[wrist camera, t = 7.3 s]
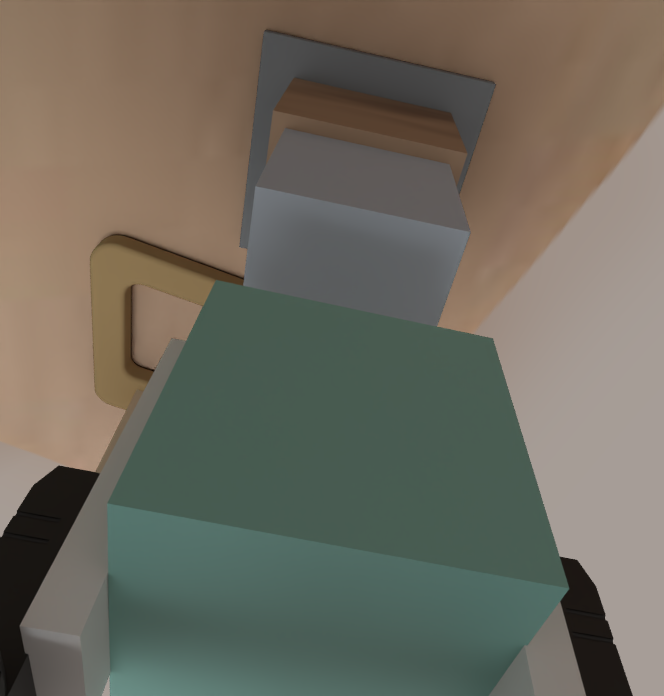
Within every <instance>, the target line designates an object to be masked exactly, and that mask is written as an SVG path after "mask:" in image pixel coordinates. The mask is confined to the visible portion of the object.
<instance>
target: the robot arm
mask: <svg viewBox="0 0 664 696" xmlns="http://www.w3.org/2000/svg"><path fill="white" fill-rule="evenodd" d="M185 343H186V341H184V340H178V339H173V338H172V339H171V341H170V342H169V344H168V346H167V348H166V350H165V352H164V354H163V356H162V358H161V359H160V361H159V363H158V365H157V367H156V369H155V371H154V373H153V375H152V376H151V378H150V380H149V382H148V384H147V386H146V388H145V390H144V392H143V393H142V395H141V397H140V399H139V401H138V403H137V405H136V407H135V409H134V411H133V412H132V414H131V416H130V418H129V420H128V422H127V424H126V426H125V428H124V429H123V431H122V433H121V435H120V437H119V439H118V441H117V443H116V445H115V446H114V448H113V450H112V452H111V454H110V456H109V458H108V460H107V462H106V463H105V465H104V467H103V469H102V471H101V473H96V472H91V471H86V470H80V469H75V468H69V467H64V466H58V467H56V468H55V469H54V470H53V471H51V472H50V473H49V474H47V475H46V476H45V477H44V478H42V479H41V480H39V481H38V482H37V483H36V484H34V485H33V487H32V488H31V490H30V491H29V493H28V494H27V496H26V497H25V499H24V501H23V502H22V504H21V505H20V507H19V508H18V510H17V514H16V515H15V516H13V518H12V519H11V521H10V522H9V524H8V526H7V527H6V529H5V530H4V533H3V536H2V537H0V696H102V693H103V691H104V688H105V685H106V683H107V680H108V677H109V675H110V647H109V596H108V525H107V503H108V501H109V499H110V497H111V495H112V492H113V490H114V488H115V486H116V484H117V482H118V480H119V478H120V476H121V474H122V472H123V470H124V468H125V466H126V464H127V462H128V460H129V458H130V456H131V453H132V451H133V449H134V447H135V445H136V443H137V441H138V439H139V437H140V435H141V433H142V431H143V429H144V427H145V425H146V423H147V421H148V419H149V416H150V414H151V412H152V410H153V408H154V406H155V404H156V402H157V400H158V398H159V396H160V394H161V392H162V390H163V388H164V386H165V384H166V382H167V380H168V377H169V375H170V373H171V371H172V369H173V367H174V365H175V363H176V361H177V359H178V357H179V355H180V353H181V351H182V349H183V347H184V345H185ZM560 560H561V563H562V566H563V569H564V573H565V576H566V579H567V583H568V586H569V590H568V591H567V593H566V594H565V595H564V597H563V598H562V599H561V601H560V602H559V603H558V605H557V606H556V607H555V609H554V610H553V612H552V613H551V614H550V616H549V617H548V618H547V620H546V621H545V622H544V624H543V625H542V626H541V628H540V629H539V631H538V632H537V633H536V635H535V636H534V637H533V639H532V640H531V641H530V643H529V644H528V645H524V647H523V648H522V649H521V651H520V652H519V654H518V655H517V656H516V658H515V659H514V661H513V662H512V663H511V665H510V666H509V668H508V669H507V670H506V672H505V673H504V675H503V676H502V677H501V679H500V680H499V682H498V683H497V685H496V686H495V687H494V689H493V690H492V692H491V693H490V694H489V696H633V695H632V692H631V689H630V686H629V684H628V681H627V677H626V675H625V672H624V669H623V666H622V663H621V660H620V657H619V654H618V651H617V648H616V645H615V644H613V636H612V633H611V630H610V627H609V624H608V621H606V620H605V612H604V609H603V606H602V603H601V600H600V597H599V594H598V591H597V588H596V586H595V584H594V583H593V582H592V580H591V579H590V577H589V576H588V575H587V573H586V572H585V570H584V569H583V568H582V566H581V565H580V563H579V562H578V561H577V560H575V559H569V558H564V557H560Z"/></svg>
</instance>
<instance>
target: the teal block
mask: <svg viewBox="0 0 664 696" xmlns="http://www.w3.org/2000/svg"><path fill="white" fill-rule="evenodd" d="M107 525H108V596H109V647H110V696H489V694H490V693H491V692H492V690H493V689H494V687H495V686H496V685H497V683H498V682H499V680H500V679H501V677H502V676H503V675H504V673H505V672H506V670H507V669H508V668H509V666H510V665H511V663H512V662H513V661H514V659H515V658H516V656H517V655H518V654H519V652H520V651H521V649H522V648H523V647H524V645H528V644H529V643H530V641H531V640H532V639H533V637H534V636H535V635H536V633H537V632H538V631H539V629H540V628H541V626H542V625H543V624H544V622H545V621H546V620H547V618H548V617H549V616H550V614H551V613H552V612H553V610H554V609H555V607H556V606H557V605H558V603H559V602H560V601H561V599H562V598H563V597H564V595H565V594H566V593H567V591H568V590H569V586H568V583H567V579H566V576H565V573H564V569H563V566H562V563H561V560H560V556H559V553H558V550H557V547H556V544H555V540H554V537H553V534H552V530H551V527H550V524H549V521H548V518H547V514H546V511H545V507H544V504H543V501H542V498H541V494H540V491H539V488H538V485H537V481H536V478H535V475H534V472H533V468H532V465H531V462H530V459H529V455H528V452H527V449H526V445H525V442H524V439H523V436H522V433H521V429H520V426H519V423H518V419H517V416H516V413H515V409H514V406H513V403H512V400H511V397H510V393H509V390H508V387H507V384H506V380H505V377H504V374H503V370H502V367H501V364H500V360H499V357H498V354H497V351H496V347H495V344H494V341H493V338H488V337H483V336H479V335H474V334H469V333H465V332H460V331H455V330H450V329H446V328H441V327H436V326H431V325H427V324H422V323H417V322H413V321H408V320H403V319H398V318H394V317H389V316H384V315H379V314H375V313H370V312H365V311H360V310H356V309H351V308H346V307H342V306H337V305H332V304H327V303H323V302H318V301H313V300H308V299H304V298H299V297H294V296H290V295H285V294H280V293H275V292H271V291H266V290H261V289H256V288H252V287H247V286H242V285H237V284H233V283H228V282H223V281H219V280H216V281H215V283H214V285H213V287H212V289H211V291H210V293H209V295H208V297H207V299H206V301H205V304H204V306H203V308H202V310H201V312H200V314H199V316H198V318H197V320H196V322H195V324H194V326H193V328H192V330H191V332H190V334H189V336H188V338H187V341H186V343H185V345H184V347H183V349H182V351H181V353H180V355H179V357H178V359H177V361H176V363H175V365H174V367H173V369H172V371H171V373H170V375H169V377H168V380H167V382H166V384H165V386H164V388H163V390H162V392H161V394H160V396H159V398H158V400H157V402H156V404H155V406H154V408H153V410H152V412H151V414H150V416H149V419H148V421H147V423H146V425H145V427H144V429H143V431H142V433H141V435H140V437H139V439H138V441H137V443H136V445H135V447H134V449H133V451H132V453H131V456H130V458H129V460H128V462H127V464H126V466H125V468H124V470H123V472H122V474H121V476H120V478H119V480H118V482H117V484H116V486H115V488H114V490H113V492H112V495H111V497H110V499H109V501H108V503H107Z"/></svg>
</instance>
